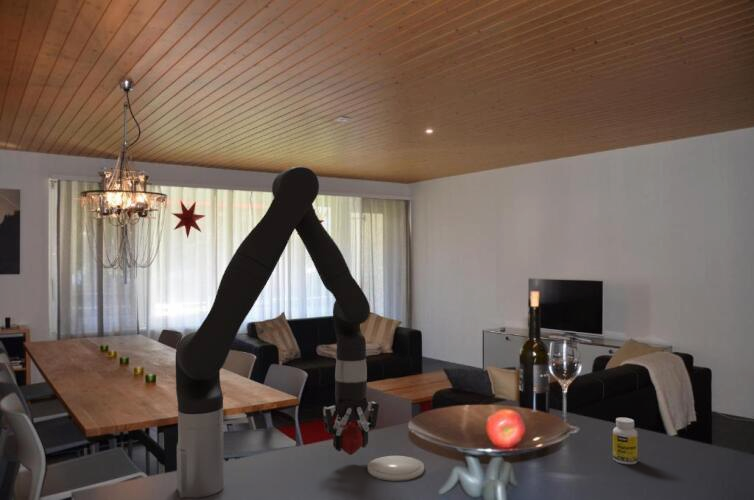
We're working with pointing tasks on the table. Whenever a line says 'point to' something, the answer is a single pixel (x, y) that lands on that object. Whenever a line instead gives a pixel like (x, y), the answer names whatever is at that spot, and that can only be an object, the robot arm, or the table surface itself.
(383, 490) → the table surface
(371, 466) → the saucer
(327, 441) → the table surface
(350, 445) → the onion
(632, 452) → the supplement bottle
